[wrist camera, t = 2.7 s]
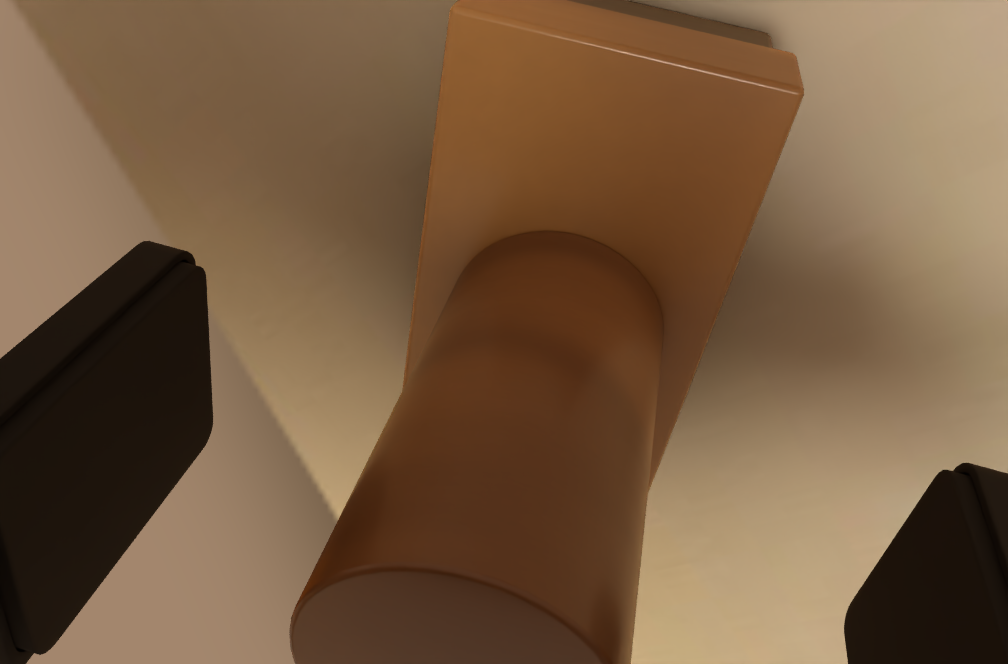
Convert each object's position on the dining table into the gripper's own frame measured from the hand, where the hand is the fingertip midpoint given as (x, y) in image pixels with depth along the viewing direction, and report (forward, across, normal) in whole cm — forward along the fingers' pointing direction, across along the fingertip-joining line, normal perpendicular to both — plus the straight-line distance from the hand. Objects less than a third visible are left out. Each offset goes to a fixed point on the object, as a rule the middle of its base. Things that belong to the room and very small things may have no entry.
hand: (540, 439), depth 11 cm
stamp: (+5, 0, 0) cm, 5 cm away
